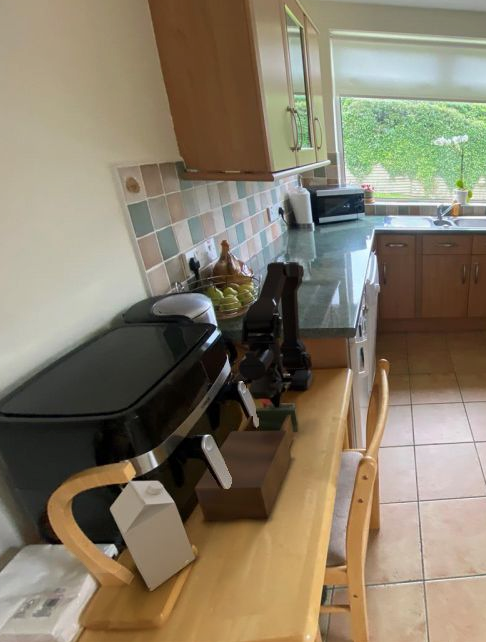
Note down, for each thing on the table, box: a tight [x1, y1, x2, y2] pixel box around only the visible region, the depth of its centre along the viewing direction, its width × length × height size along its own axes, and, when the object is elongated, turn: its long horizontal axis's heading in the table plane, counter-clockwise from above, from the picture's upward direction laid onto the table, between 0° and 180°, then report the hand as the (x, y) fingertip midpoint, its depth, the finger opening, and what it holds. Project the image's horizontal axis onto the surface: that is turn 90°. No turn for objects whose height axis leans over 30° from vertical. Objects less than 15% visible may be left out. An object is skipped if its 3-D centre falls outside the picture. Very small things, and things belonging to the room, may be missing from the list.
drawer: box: [240, 402, 301, 447], centre depth 92 cm, size 19×11×7 cm, turn 3°
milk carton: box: [109, 480, 196, 592], centre depth 64 cm, size 7×7×19 cm
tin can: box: [261, 399, 283, 408], centre depth 104 cm, size 5×5×6 cm
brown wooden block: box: [194, 430, 292, 521], centre depth 81 cm, size 16×13×9 cm
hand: (277, 406), depth 98 cm, fingers closed
